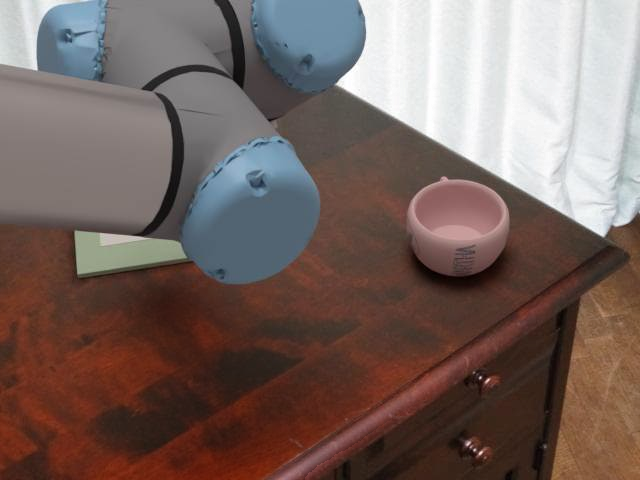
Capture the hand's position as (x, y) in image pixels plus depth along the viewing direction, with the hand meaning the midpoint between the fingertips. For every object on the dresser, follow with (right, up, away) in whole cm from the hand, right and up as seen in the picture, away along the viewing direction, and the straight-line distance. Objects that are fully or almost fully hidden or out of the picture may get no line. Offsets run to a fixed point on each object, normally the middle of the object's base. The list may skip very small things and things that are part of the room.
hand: (134, 161), depth 104 cm
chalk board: (-3, -3, +18) cm, 18 cm away
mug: (+30, -8, +11) cm, 33 cm away
